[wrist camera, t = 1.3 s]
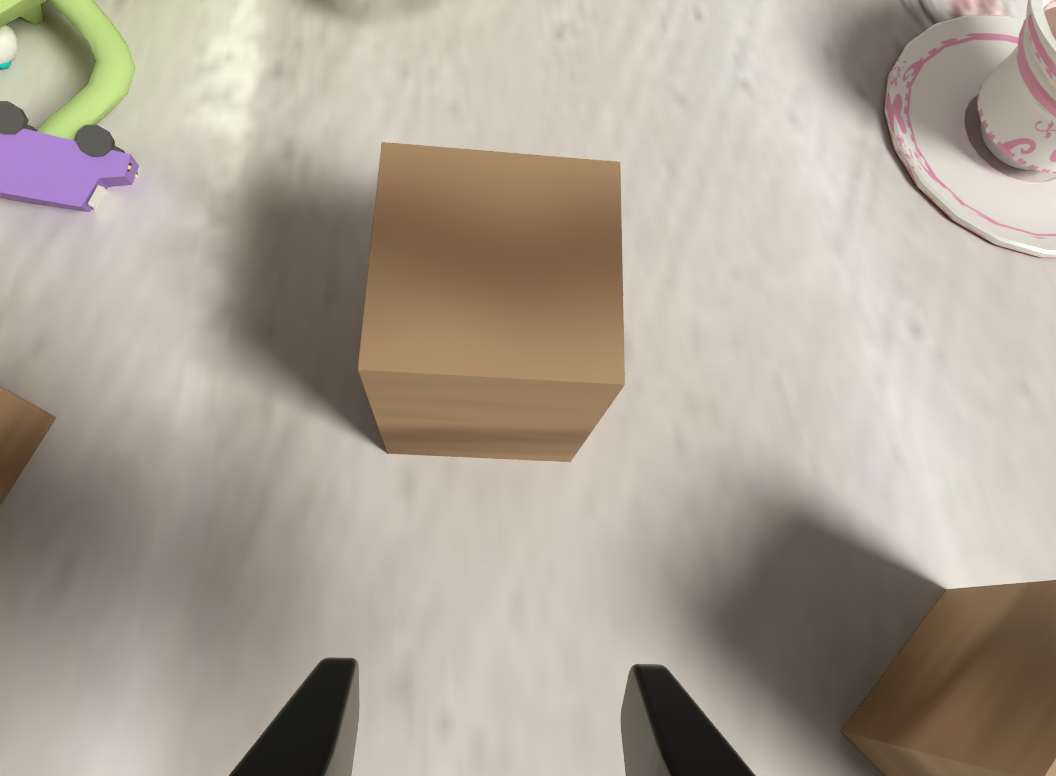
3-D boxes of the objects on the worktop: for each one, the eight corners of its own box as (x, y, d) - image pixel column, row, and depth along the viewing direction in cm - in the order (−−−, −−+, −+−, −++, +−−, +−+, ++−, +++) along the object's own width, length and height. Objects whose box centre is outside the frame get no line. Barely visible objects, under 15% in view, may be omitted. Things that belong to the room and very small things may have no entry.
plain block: (570, 462, 24) (624, 384, 16) (387, 453, 24) (357, 369, 16) (570, 298, 26) (620, 161, 18) (402, 287, 25) (381, 142, 18)
